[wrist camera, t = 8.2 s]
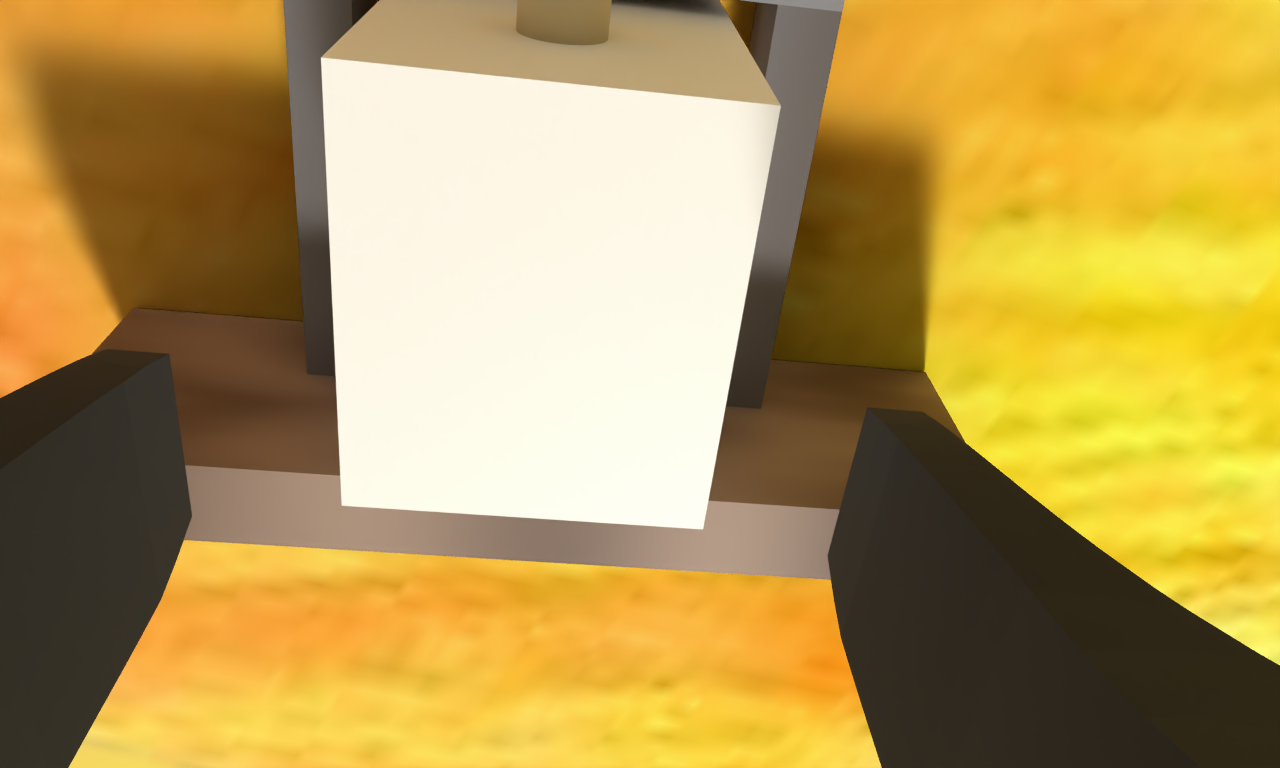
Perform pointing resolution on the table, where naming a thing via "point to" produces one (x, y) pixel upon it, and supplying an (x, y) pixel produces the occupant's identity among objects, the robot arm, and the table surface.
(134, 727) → the table surface
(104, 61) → the table surface
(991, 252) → the table surface
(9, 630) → the robot arm
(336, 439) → the board
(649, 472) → the cabinet block
